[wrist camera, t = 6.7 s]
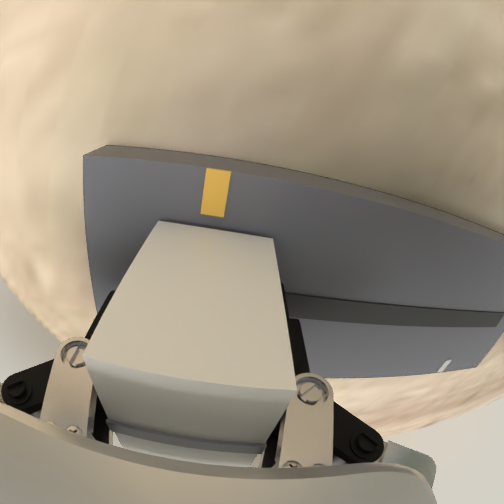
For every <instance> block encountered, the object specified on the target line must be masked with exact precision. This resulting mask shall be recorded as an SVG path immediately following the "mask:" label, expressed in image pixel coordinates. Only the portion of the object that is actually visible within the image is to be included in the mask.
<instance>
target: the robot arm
mask: <svg viewBox="0 0 504 504" xmlns="http://www.w3.org/2000/svg"><path fill="white" fill-rule="evenodd" d="M281 289H282V295H283V301H284V307H285V313H286V320H287V326H288V333H289V339H290V346H291V352H292V359H293V366H294V372H295V379H296V386H297V391H296V393H295V394H294V396H293V398H292V400H291V401H290V403H289V405H288V407H287V408H286V410H285V412H284V413H283V415H282V417H281V418H280V420H279V422H278V423H277V425H276V426H275V428H274V430H273V431H272V433H271V434H270V436H269V438H268V439H267V441H266V442H265V443H267V447H266V449H265V450H264V452H263V453H262V454H261V458H260V463H259V468H251V467H234V466H221V465H211V464H202V463H194V462H187V461H181V460H175V459H169V458H164V457H159V456H154V455H149V454H144V453H140V452H136V451H132V450H128V449H124V448H120V447H116V446H113V445H112V444H113V431H110V429H109V427H108V425H107V423H106V419H108V417H107V415H106V413H105V411H104V408H103V406H102V404H101V402H100V399H99V397H98V395H97V392H96V390H95V387H94V385H93V382H92V380H91V377H90V375H89V372H88V370H87V367H86V364H85V361H84V358H83V356H82V355H83V353H84V351H85V349H86V347H87V345H88V343H89V341H90V339H91V337H92V335H93V333H94V331H95V329H96V327H97V325H98V323H99V321H100V319H101V317H102V315H103V313H104V312H105V310H106V308H107V306H108V304H109V302H110V300H111V299H112V297H113V295H114V293H115V291H114V290H112V291H110V293H109V294H108V296H107V298H106V299H105V301H104V303H103V305H102V307H101V308H100V310H99V312H98V314H97V316H96V317H95V319H94V321H93V323H92V325H91V327H90V329H89V331H88V333H87V334H86V336H85V338H83V337H73V338H70V339H67V340H66V341H64V342H63V343H62V344H61V345H60V346H59V347H58V350H57V352H56V355H55V359H53V360H50V361H48V362H45V363H42V364H39V365H37V366H34V367H31V368H29V369H26V370H24V371H21V372H18V373H15V374H13V375H11V376H9V377H8V378H7V379H6V380H5V381H4V383H0V504H437V502H436V499H435V496H434V494H433V491H432V486H433V482H434V477H435V473H436V465H435V462H434V461H433V459H432V458H431V457H429V456H428V455H425V454H423V453H420V452H417V451H415V450H412V449H409V448H407V447H404V446H402V445H399V444H397V443H394V442H392V441H388V442H384V441H383V439H382V437H381V436H380V434H379V433H378V432H377V431H376V430H374V429H373V428H371V427H370V426H368V425H367V424H365V423H364V422H363V421H361V420H360V419H358V418H357V417H355V416H354V415H352V414H351V413H350V412H348V411H347V410H345V409H344V408H342V407H341V406H340V405H338V404H337V403H336V402H334V401H333V389H332V387H331V385H330V384H329V382H328V381H327V380H326V379H324V378H323V377H321V376H319V375H317V374H313V373H310V369H309V364H308V359H307V353H306V348H305V343H304V338H303V333H302V328H301V323H300V320H299V319H295V318H289V312H288V307H287V301H286V295H285V289H284V284H283V283H281Z"/></svg>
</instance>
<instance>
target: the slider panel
mask: <svg viewBox="0 0 504 504" xmlns="http://www.w3.org/2000/svg"><path fill="white" fill-rule="evenodd" d="M83 195H84V216H85V230H86V241H87V250H88V259H89V267H90V274H91V281H92V287H93V293H94V299H95V304H96V310H97V314H98V312H99V310H100V308H101V307H102V305H103V303H104V301H105V299H106V298H107V296H108V294H109V293H110V291H112V290H114V291H116V290H117V288H118V286H119V284H120V283H121V281H122V279H123V277H124V276H125V274H126V272H127V270H128V269H129V267H130V265H131V264H132V262H133V260H134V259H135V257H136V255H137V254H138V252H139V250H140V249H141V247H142V246H143V244H144V242H145V241H146V239H147V238H148V236H149V234H150V233H151V231H152V230H153V228H154V227H155V225H156V224H157V222H158V221H164V222H171V223H177V224H184V225H191V226H197V227H204V228H210V229H217V230H223V231H229V232H236V233H242V234H248V235H254V236H261V237H267V238H273V241H274V247H275V253H276V259H277V265H278V271H279V277H280V283H283V284H284V289H285V295H286V301H287V307H288V312H289V318H295V319H299V320H300V323H301V328H302V333H303V338H304V343H305V348H306V353H307V359H308V364H309V369H310V373H313V374H317V375H319V376H321V377H323V378H375V377H395V376H409V375H421V374H431V373H440V372H448V371H455V370H462V369H468V368H475V367H477V366H478V365H479V363H480V362H481V361H482V360H483V358H484V357H485V356H486V355H487V353H488V352H489V351H490V349H491V348H492V347H493V345H494V344H495V343H496V341H497V340H498V339H499V337H500V336H501V334H502V333H503V332H504V235H503V234H500V233H498V232H496V231H493V230H491V229H488V228H486V227H483V226H481V225H478V224H476V223H473V222H470V221H468V220H465V219H462V218H460V217H457V216H454V215H452V214H449V213H446V212H443V211H440V210H437V209H434V208H431V207H428V206H425V205H422V204H419V203H416V202H413V201H410V200H407V199H403V198H400V197H397V196H393V195H390V194H387V193H383V192H380V191H376V190H372V189H369V188H365V187H361V186H358V185H354V184H350V183H346V182H342V181H338V180H334V179H330V178H326V177H321V176H317V175H313V174H308V173H304V172H299V171H294V170H290V169H285V168H280V167H275V166H269V165H264V164H259V163H253V162H247V161H242V160H235V159H229V158H223V157H216V156H209V155H202V154H195V153H187V152H179V151H170V150H160V149H150V148H139V147H126V146H112V145H106V146H104V147H101V148H99V149H96V150H94V151H92V152H90V153H87V154H85V155H83Z"/></svg>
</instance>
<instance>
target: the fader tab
mask: <svg viewBox="0 0 504 504" xmlns="http://www.w3.org/2000/svg"><path fill="white" fill-rule="evenodd" d="M82 356H83V358H84V361H85V364H86V367H87V370H88V372H89V375H90V377H91V380H92V382H93V385H94V387H95V390H96V392H97V395H98V397H99V399H100V402H101V404H102V406H103V408H104V411H105V413H106V415H107V417H108V419H106V423H107V425H108V427H109V429H110V431H113V432H115V433H116V435H117V437H118V439H119V441H120V443H121V445H122V447H123V448H124V449H128V450H132V451H136V452H140V453H144V454H149V455H154V456H159V457H164V458H169V459H175V460H181V461H187V462H194V463H202V464H211V465H221V466H234V467H249V466H250V465H251V463H252V462H253V460H254V459H255V457H256V456H257V454H262V453H263V452H264V450H265V449H266V447H267V443H265V442H266V441H267V439H268V438H269V436H270V434H271V433H272V431H273V430H274V428H275V426H276V425H277V423H278V422H279V420H280V418H281V417H282V415H283V413H284V412H285V410H286V408H287V407H288V405H289V403H290V401H291V400H292V398H293V396H294V394H295V393H296V391H297V386H296V379H295V372H294V366H293V359H292V352H291V346H290V339H289V333H288V326H287V320H286V313H285V307H284V301H283V295H282V289H281V283H280V277H279V271H278V265H277V259H276V253H275V247H274V241H273V238H267V237H261V236H254V235H248V234H242V233H236V232H229V231H223V230H217V229H210V228H204V227H197V226H191V225H184V224H177V223H171V222H164V221H158V222H157V224H156V225H155V227H154V228H153V230H152V231H151V233H150V234H149V236H148V238H147V239H146V241H145V242H144V244H143V246H142V247H141V249H140V250H139V252H138V254H137V255H136V257H135V259H134V260H133V262H132V264H131V265H130V267H129V269H128V270H127V272H126V274H125V276H124V277H123V279H122V281H121V283H120V284H119V286H118V288H117V290H116V291H115V293H114V295H113V297H112V299H111V300H110V302H109V304H108V306H107V308H106V310H105V312H104V313H103V315H102V317H101V319H100V321H99V323H98V325H97V327H96V329H95V331H94V333H93V335H92V337H91V339H90V341H89V343H88V345H87V347H86V349H85V351H84V353H83V355H82Z"/></svg>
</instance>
